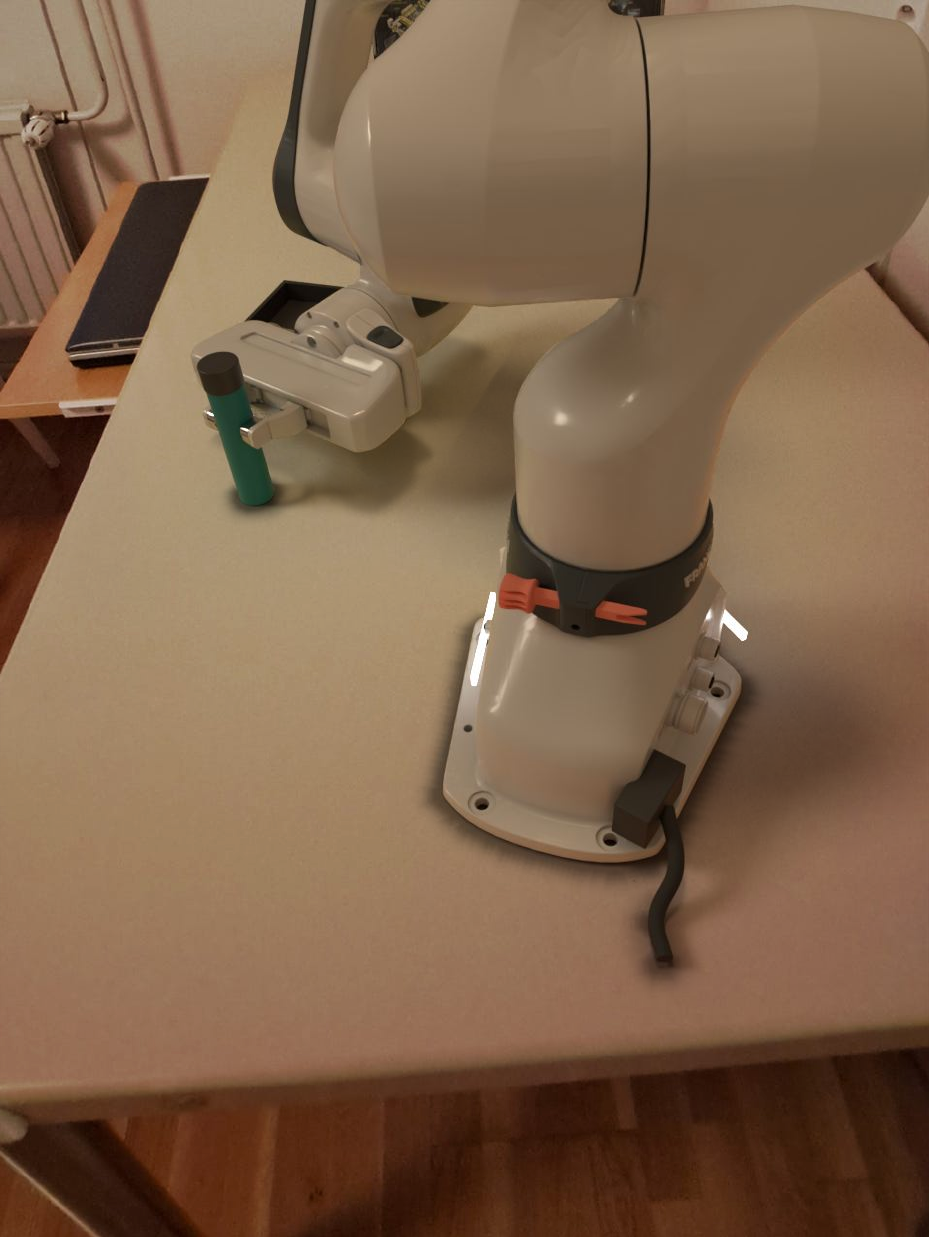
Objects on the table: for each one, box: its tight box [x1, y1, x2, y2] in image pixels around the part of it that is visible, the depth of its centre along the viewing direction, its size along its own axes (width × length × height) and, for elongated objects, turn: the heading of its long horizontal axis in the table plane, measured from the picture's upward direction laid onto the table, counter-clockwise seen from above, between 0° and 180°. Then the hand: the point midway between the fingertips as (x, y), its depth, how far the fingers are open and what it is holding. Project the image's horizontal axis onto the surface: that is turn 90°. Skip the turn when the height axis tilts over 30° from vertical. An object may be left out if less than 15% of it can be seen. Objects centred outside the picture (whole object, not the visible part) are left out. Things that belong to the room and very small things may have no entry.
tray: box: [243, 279, 345, 330], centre depth 96 cm, size 16×12×3 cm
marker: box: [197, 351, 275, 507], centre depth 76 cm, size 3×3×13 cm
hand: (228, 430), depth 75 cm, fingers closed on marker, 3 cm apart
